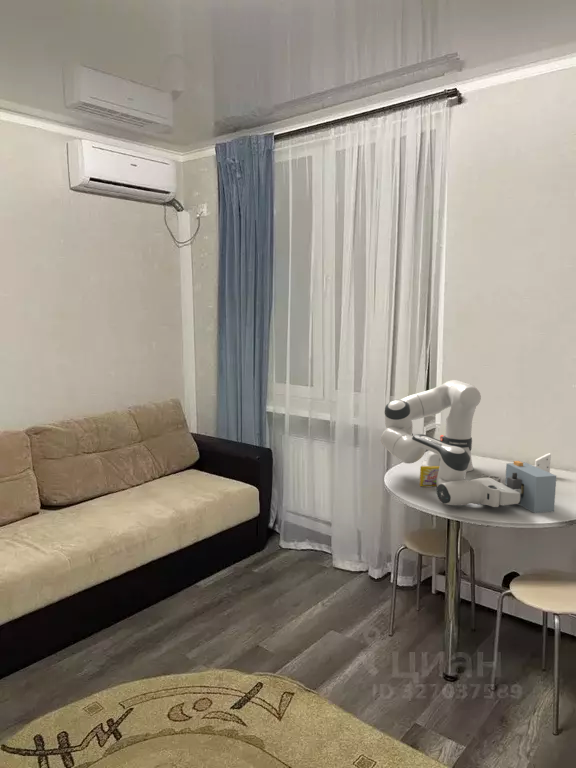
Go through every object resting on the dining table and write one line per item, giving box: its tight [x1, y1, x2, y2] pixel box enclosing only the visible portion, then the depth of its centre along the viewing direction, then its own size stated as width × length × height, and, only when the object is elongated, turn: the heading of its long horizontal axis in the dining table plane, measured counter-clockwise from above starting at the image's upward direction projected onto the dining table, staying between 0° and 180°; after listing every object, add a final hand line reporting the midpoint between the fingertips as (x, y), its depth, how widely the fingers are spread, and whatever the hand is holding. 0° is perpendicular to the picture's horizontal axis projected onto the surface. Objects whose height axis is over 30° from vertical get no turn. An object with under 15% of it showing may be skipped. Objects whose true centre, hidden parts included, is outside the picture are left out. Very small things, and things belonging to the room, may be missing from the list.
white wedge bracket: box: [534, 452, 552, 473], centre depth 253 cm, size 4×10×9 cm, turn 84°
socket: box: [504, 460, 557, 514], centre depth 216 cm, size 8×18×14 cm, turn 13°
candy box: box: [419, 466, 439, 487], centre depth 236 cm, size 16×2×8 cm, turn 95°
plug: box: [507, 473, 524, 505], centre depth 215 cm, size 8×4×11 cm, turn 103°
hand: (516, 488), depth 215 cm, fingers closed on plug, 4 cm apart
